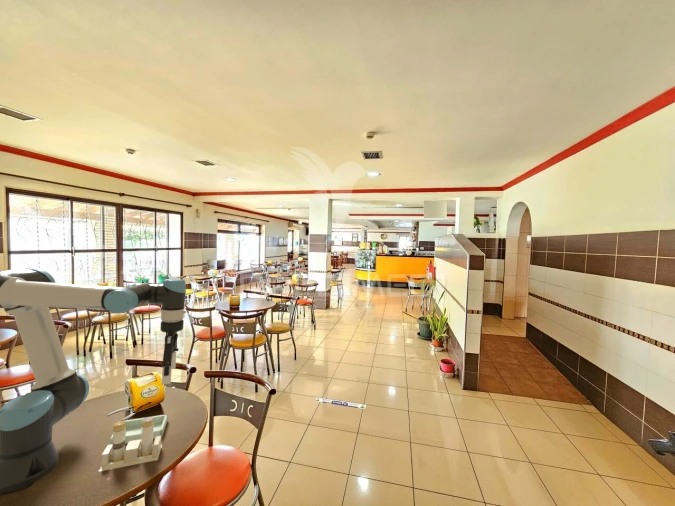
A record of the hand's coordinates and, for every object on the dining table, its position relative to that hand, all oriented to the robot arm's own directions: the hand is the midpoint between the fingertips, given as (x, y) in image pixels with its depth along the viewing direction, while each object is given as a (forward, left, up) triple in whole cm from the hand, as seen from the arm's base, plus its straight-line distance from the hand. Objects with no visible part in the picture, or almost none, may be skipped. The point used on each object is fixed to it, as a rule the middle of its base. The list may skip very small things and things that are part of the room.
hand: (168, 375), depth 108 cm
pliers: (-17, +26, -24) cm, 39 cm away
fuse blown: (-13, -9, -23) cm, 27 cm away
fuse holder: (-9, -9, -24) cm, 27 cm away
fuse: (-5, -9, -23) cm, 25 cm away
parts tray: (-10, +5, -24) cm, 26 cm away
